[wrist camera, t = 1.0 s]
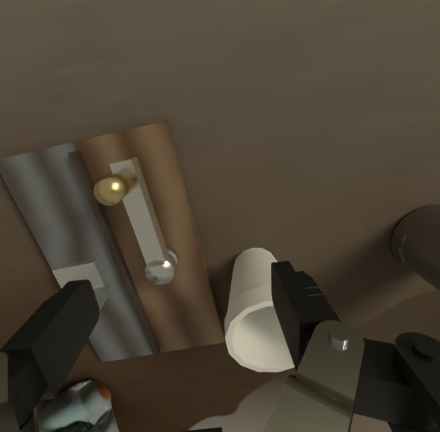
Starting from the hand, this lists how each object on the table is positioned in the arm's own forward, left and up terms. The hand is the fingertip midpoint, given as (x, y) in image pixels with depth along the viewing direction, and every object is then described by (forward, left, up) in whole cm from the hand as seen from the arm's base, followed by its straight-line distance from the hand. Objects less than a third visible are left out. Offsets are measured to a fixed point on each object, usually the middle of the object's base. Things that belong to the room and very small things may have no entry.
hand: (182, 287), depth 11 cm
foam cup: (-4, +14, -23) cm, 27 cm away
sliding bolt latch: (+13, +9, -22) cm, 28 cm away
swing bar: (+8, +3, -19) cm, 21 cm away
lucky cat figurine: (+32, +37, -23) cm, 54 cm away
